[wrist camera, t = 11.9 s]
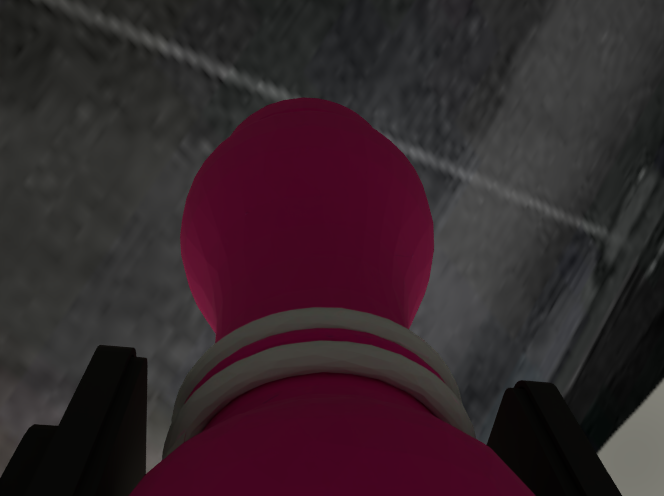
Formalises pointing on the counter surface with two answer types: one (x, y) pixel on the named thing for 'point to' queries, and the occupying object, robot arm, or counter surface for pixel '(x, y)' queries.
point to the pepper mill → (315, 324)
